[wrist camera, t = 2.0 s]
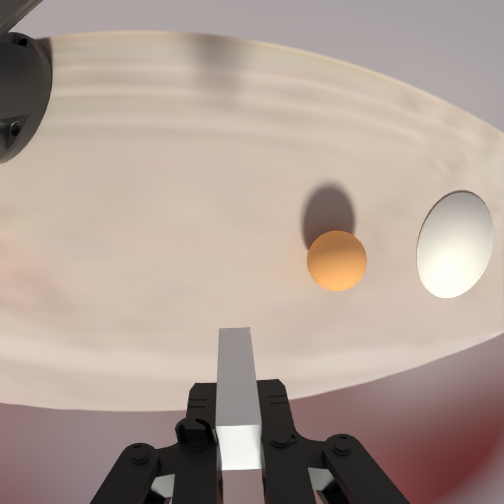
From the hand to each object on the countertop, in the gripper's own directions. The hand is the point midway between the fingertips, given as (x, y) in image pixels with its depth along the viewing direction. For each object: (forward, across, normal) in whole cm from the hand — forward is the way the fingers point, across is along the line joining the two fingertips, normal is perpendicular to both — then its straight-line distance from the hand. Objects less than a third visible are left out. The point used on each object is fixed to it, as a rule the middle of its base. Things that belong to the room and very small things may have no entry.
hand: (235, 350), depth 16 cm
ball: (+13, +9, 0) cm, 16 cm away
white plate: (+16, +26, 0) cm, 31 cm away
